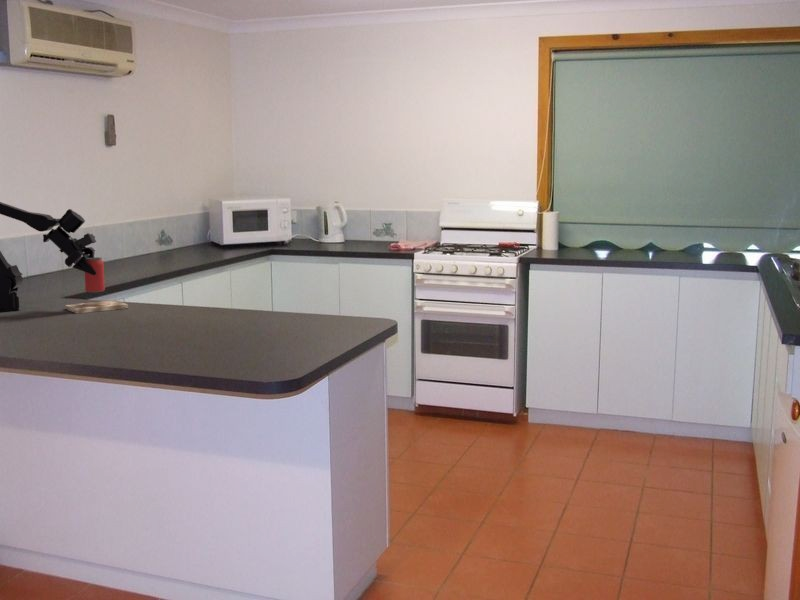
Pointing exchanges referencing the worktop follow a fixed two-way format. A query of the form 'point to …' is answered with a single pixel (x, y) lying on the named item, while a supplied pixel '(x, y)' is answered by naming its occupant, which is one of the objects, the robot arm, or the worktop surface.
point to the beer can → (95, 276)
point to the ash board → (96, 306)
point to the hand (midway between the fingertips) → (98, 273)
